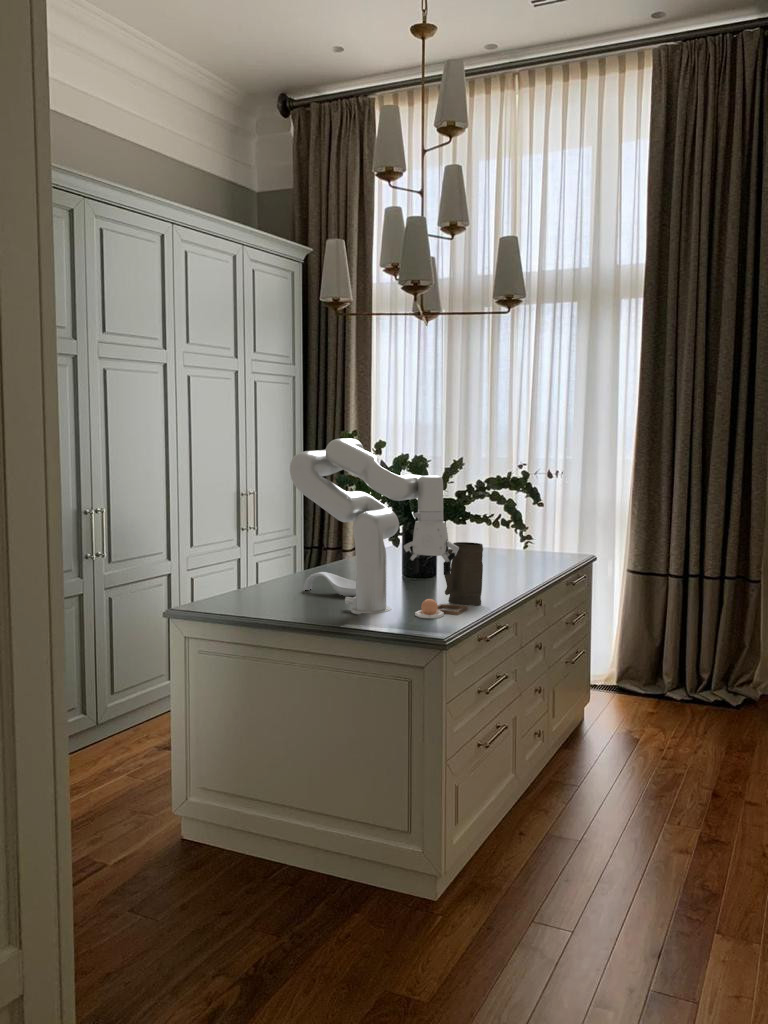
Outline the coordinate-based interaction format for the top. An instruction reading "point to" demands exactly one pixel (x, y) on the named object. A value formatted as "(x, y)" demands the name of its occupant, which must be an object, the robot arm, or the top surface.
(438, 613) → the octagonal white dish
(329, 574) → the spoon rest
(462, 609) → the tray
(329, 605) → the top surface
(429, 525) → the robot arm
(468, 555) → the beer stein
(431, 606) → the ball
